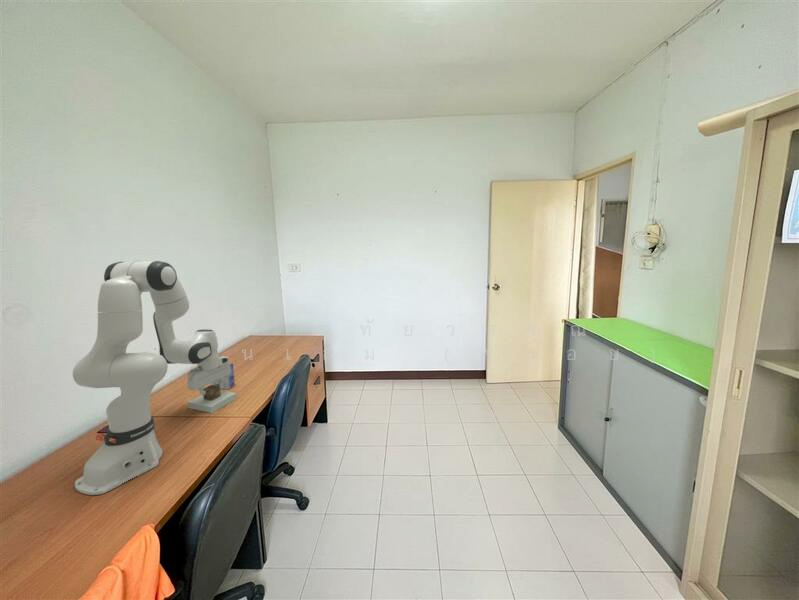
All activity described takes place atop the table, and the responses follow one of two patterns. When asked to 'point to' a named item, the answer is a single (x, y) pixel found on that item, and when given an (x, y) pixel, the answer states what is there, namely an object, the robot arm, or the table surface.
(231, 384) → the ink cartridge box
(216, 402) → the base
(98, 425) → the table surface
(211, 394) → the walnut cube
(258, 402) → the table surface
